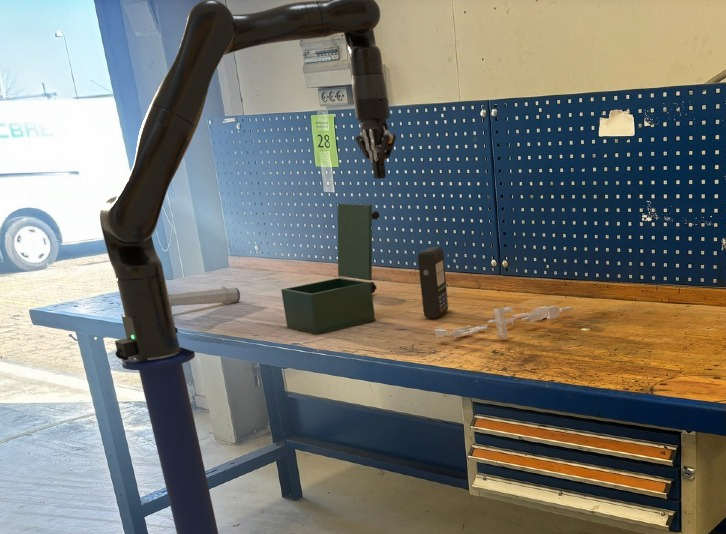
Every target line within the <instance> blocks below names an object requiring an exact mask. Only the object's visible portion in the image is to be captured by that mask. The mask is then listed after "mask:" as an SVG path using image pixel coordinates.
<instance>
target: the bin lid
mask: <svg viewBox="0 0 726 534" xmlns="http://www.w3.org/2000/svg"><path fill="white" fill-rule="evenodd" d="M379 218H380V213H379V211H376V210H375V211H374V210H373V205H372V204H356V203H337V276H338V277H342V278H349V279H356V280H364V281H365V280H366V281H372V280H373V275H372V274H373V266H372V265H373V264H372V263H373V243H372V242H373V220H379Z"/></svg>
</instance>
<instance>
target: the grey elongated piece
mask: <svg viewBox="0 0 726 534" xmlns="http://www.w3.org/2000/svg"><path fill="white" fill-rule="evenodd" d="M573 310H574V308H573V306H568V307H561V308H559V307H558V306H556V305H552V306H549V305H545V306H541V307H535V308H532V309H531V310H530V312H523V313H522V312H521V313H518V314H513V312H514V309H513V307H512V306H506V307H505V306H504V307H499V308H494V309H493V314H494V319H489V320H488V321H487V323H488V324H495V327H496V333H497V340H498V341H501V340H507V339H509V333H508V327H507V325H509V324H511V326H514V325H515V323H514V322H515V320H517V319H521V322H525V321H528V322H529V323H535V322H536V321H542V320H543V319H546V320H547V321H550V320H554V319H557V318H559V316H560V314H561V312H568V311H573ZM506 314H513V315H510V318H508V319H506ZM488 324H483V325H478V326H476V327H472V325H466V326H461V327H456V328H455V327H453V328H452V331H450V332H448V329H442V327H440V328H439V327H438V328H436V329H434V334H435V339H436V340H439V339H443V338H444V337H450V336H453V338H454V339H455V340H456V339H457V338H458V337H459V338H460V337H464V336H468V335H472V334H476V333H478V332H484V331H488V330H489V327H488V326H489V325H488Z"/></svg>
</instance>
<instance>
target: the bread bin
mask: <svg viewBox="0 0 726 534" xmlns="http://www.w3.org/2000/svg"><path fill="white" fill-rule="evenodd" d="M370 282H371V281H365V280H364V281H363V280H359V279H352V278H346V277H337V278H332V279H326V280H322V281H317V282H311V283H306V284H301V285H296V286H291V287H285V288H281V289H280V290H281V297H282V303H283V309H284V315H285V322H286V327H287V329H292V330H296V331H300V332H304V333H309V334H313V335H321V334H326V333H330V332H334V331H338V330H341V329H347V328H351V327H355V326H358V325H362V324H366V323H370V322H374V321H376V316H375V314H376V313H375V308H374V307H375V306H374V300H373V299H374V298H373V293H372V290H371V283H370Z"/></svg>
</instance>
